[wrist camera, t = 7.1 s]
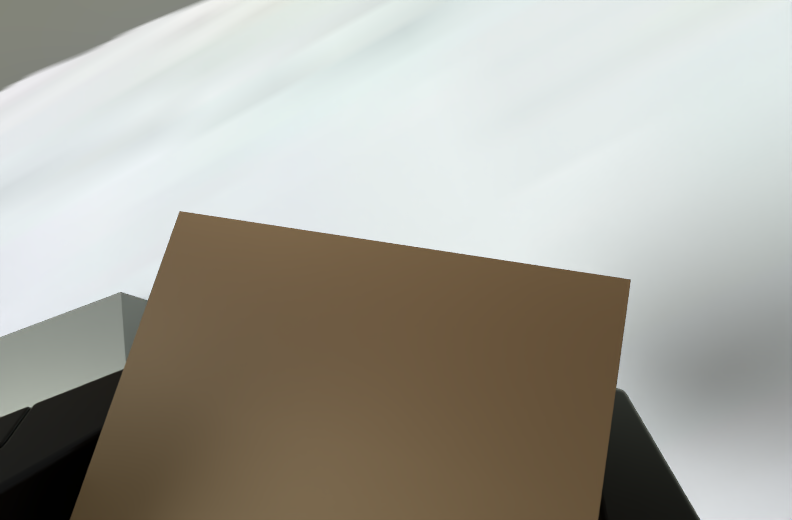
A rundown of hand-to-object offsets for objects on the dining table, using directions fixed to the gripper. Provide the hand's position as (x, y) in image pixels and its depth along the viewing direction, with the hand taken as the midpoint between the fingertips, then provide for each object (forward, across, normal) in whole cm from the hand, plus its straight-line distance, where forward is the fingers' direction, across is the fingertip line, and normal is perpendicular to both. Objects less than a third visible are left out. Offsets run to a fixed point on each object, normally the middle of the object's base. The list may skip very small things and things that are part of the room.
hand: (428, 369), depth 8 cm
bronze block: (+4, 0, +6) cm, 7 cm away
